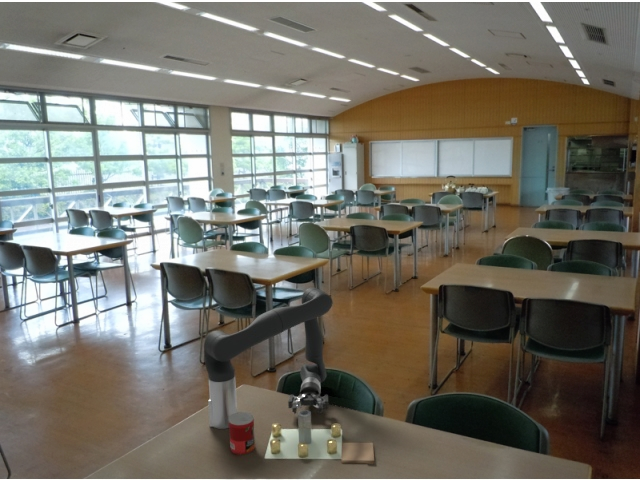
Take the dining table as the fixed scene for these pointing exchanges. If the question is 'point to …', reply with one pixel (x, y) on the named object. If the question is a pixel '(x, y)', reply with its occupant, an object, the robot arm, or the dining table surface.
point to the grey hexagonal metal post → (304, 426)
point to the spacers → (303, 445)
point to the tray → (357, 453)
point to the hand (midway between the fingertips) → (307, 411)
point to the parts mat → (315, 449)
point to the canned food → (241, 433)
